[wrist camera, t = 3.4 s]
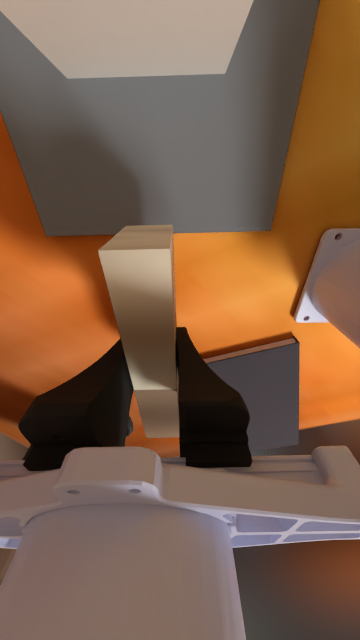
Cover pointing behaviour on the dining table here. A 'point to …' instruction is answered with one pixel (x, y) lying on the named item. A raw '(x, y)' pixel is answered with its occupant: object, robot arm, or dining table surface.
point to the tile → (131, 35)
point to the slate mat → (160, 133)
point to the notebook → (265, 390)
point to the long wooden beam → (146, 319)
